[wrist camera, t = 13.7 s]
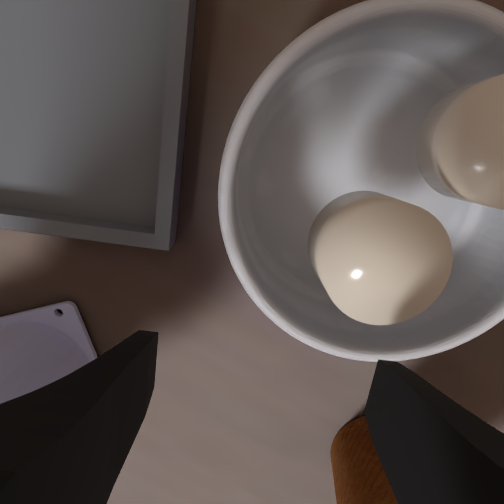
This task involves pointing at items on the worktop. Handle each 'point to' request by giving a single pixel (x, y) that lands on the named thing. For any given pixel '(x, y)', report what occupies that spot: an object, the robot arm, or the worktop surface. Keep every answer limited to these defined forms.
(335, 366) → the worktop surface
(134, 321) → the worktop surface
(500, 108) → the pebble
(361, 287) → the pebble
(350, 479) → the disposable coffee cup
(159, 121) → the parts tray
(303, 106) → the dog bowl
